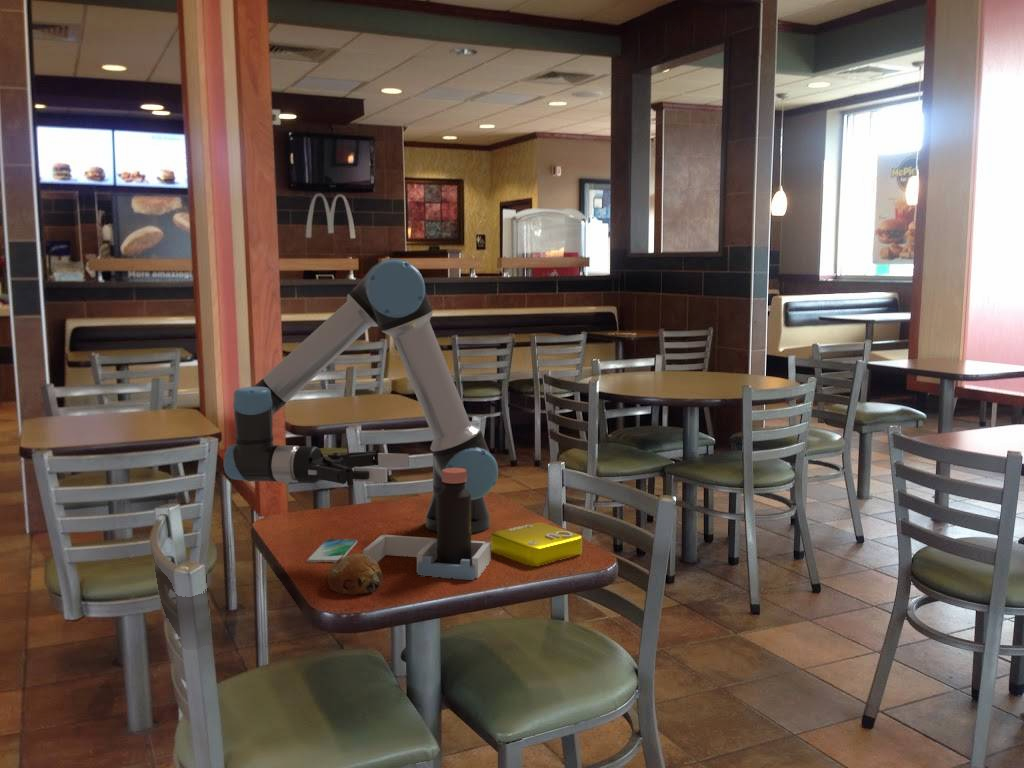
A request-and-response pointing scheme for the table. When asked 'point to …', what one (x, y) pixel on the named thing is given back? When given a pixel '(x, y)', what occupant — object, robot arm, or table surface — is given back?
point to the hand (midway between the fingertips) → (398, 467)
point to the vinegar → (453, 518)
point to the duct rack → (431, 556)
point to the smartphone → (332, 550)
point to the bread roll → (355, 575)
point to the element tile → (536, 543)
